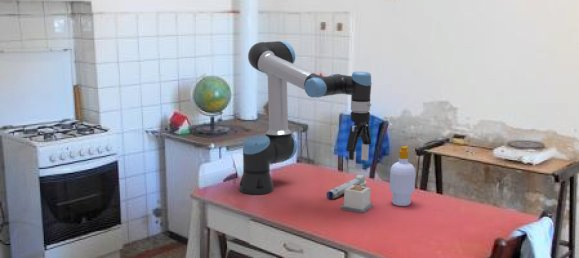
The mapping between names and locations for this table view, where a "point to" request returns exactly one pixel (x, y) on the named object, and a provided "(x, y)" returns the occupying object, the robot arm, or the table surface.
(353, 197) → the nut
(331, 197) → the toothbrush head
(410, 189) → the soap bottle
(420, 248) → the table surface
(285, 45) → the robot arm
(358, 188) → the peg on square base
